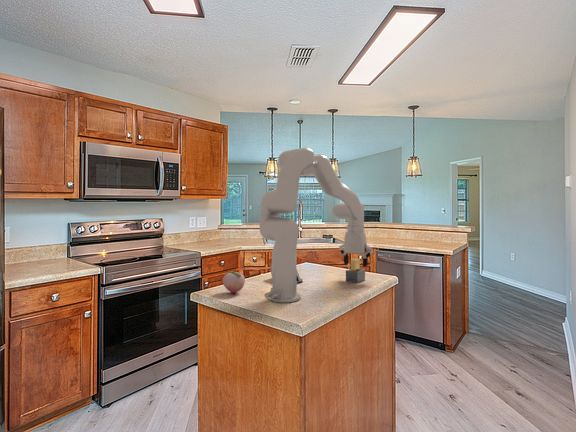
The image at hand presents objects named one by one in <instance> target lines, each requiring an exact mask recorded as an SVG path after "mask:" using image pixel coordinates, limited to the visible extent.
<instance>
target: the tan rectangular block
mask: <svg viewBox="0 0 576 432" xmlns="http://www.w3.org/2000/svg"><path fill="white" fill-rule="evenodd" d="M360 261H361V260H360V259H359V258H353V259H351V260H350V269H351V271H359V270H360V269H361V268H360V266H361V265H360Z"/></svg>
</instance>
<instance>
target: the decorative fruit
mask: <svg viewBox="0 0 576 432" xmlns="http://www.w3.org/2000/svg"><path fill="white" fill-rule="evenodd" d="M245 283H246V278H245V275H243V274H242V272H239V271H235V269H234V268H233V270H230V271H227V272H225V275H224V276H223V278H222V284H223V286H224V288H225V289H226V290H227V291H228V292H230V293H233V294H236V293H238V292H240V291H241V290H243V288H244V286H245Z"/></svg>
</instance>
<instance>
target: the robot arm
mask: <svg viewBox="0 0 576 432" xmlns="http://www.w3.org/2000/svg"><path fill="white" fill-rule="evenodd" d="M277 164H278V167H279V168H280V169H279V171H278V175H277V179H276V188H275V189H272V190H271V189H270V190H268V191H267V192H266V193H264V195H263V196H262V199H261V202H260V211H259V213H260V214H259V233H260V235H261V237H262V238H263V239H265V240H267V241H273V242H274V241H275V242H274V244H273V247H272V251H271V266H272V274H271V279H272V281H271V282H272V283H271V285H272V287H270V291H267V292H264V293H263V294H264V298H265V299H269V300H270V301H271V302H275V303H294V302H297V301H299V300H301V294H300V293H299V292H297V290H298V289H297V286H298V285H297V271H298V269H297V248H298V247H297V245H298V241H299V240H298V238H299V234H300V228H299V225H298V222H297V221H295V220H294V219H293V218H290V217H285V216H284V217H283V216H281V215H288V214H289V215H290V214H293V213H294V212H295V211H296V209H297V206H298V197H299V186H300V185H299V183H300V179H301V176H303V177H304V176H306V177H308V176H309V177H310V176H314V178H315V179H316V182H317V183H318V185H319V187H320V188H321V190H322V192H323V193H324V194H326V195H328V196H331V197H333V198H336V199H338V200H340V201H341V202H338V203H336V204H335V205H334V206H333V207H332V209H331V210H332V215H333V216H334V218H335V219H339V220H347V226H345V230H347V231H346V232H345V236H344V243H343V244H341V245H339V247H338V248H339V250H340V253H341V255H342V256H343V263H344V265H346V266H347V265H348V264H350V261H349V260H350V256H349V254H355V255H362V257H363V258H362V267H363V268H365V267H368V265H369V264H368V263H369V258H370V257H371V255H372V253H373V252H374V248H372V247H370V246H369V245H368V242H367V241H368V240H367V236H366V232H365V206H364V204H363V203H361V201H360V199H359V196H358V195H357V194H356V193H355V192H354V190H352V189H351V188H349V187H348V186H347V185H346V184H344V183H343V182H341V180H340V179H339V176H338V175H337V173H336V172H335V171H336V170H335V169H334V168H333V165H332V164H331V162H330V160H329V159H328V156H326V155H323V154H315V152H314V151H313V150H312V149H311V148H308V147H299V148H295V149H291V150H285V151H283V152H281V153H280V154H279V156H278V158H277Z"/></svg>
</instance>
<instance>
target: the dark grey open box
mask: <svg viewBox="0 0 576 432" xmlns="http://www.w3.org/2000/svg"><path fill="white" fill-rule="evenodd" d="M363 281H366V269H363V268H360V270H359V271H351V268H350V269H346V270H345V282H350V283H354V284H358V283H361V282H363Z"/></svg>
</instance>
